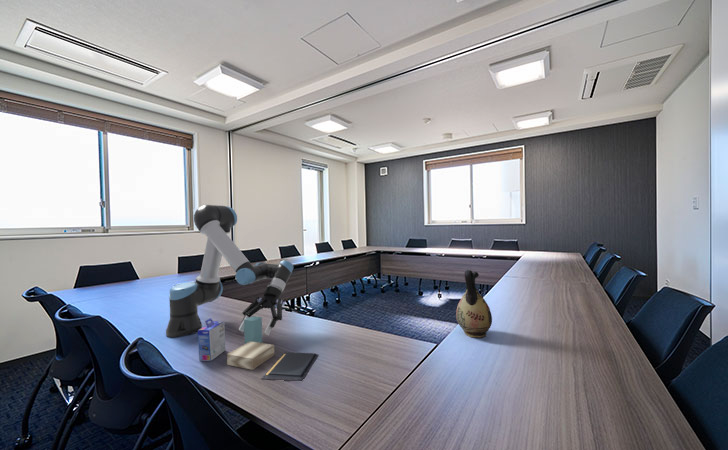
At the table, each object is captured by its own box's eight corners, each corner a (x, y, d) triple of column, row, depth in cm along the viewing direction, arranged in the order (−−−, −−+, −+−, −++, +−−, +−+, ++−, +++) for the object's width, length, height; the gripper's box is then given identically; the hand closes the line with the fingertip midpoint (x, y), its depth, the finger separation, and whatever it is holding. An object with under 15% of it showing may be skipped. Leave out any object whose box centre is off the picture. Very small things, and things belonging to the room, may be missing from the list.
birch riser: (227, 364, 105) (227, 354, 105) (250, 350, 116) (250, 341, 116) (252, 369, 101) (252, 358, 101) (274, 354, 112) (274, 345, 112)
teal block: (244, 347, 119) (244, 319, 119) (253, 343, 124) (252, 316, 124) (254, 349, 117) (253, 321, 117) (262, 344, 122) (261, 317, 122)
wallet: (301, 378, 92) (259, 375, 94) (301, 384, 92) (259, 381, 94) (320, 351, 112) (285, 349, 114) (320, 356, 112) (285, 353, 114)
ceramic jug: (461, 325, 139) (460, 265, 139) (495, 332, 130) (494, 268, 130) (450, 337, 126) (449, 270, 125) (487, 345, 117) (485, 273, 116)
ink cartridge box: (213, 349, 118) (213, 315, 118) (226, 350, 117) (225, 315, 117) (197, 361, 108) (196, 323, 108) (211, 361, 107) (210, 324, 107)
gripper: (300, 295, 132) (281, 339, 118) (257, 292, 140) (235, 333, 126) (293, 286, 127) (273, 331, 113) (249, 284, 135) (225, 325, 121)
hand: (253, 332), depth 120 cm, fingers open, 13 cm apart
